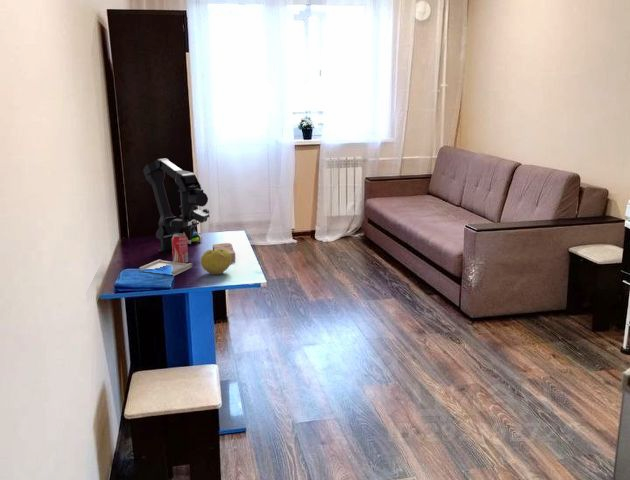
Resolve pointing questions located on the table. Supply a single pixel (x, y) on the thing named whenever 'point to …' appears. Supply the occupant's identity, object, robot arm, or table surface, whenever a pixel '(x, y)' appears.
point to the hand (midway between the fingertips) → (190, 239)
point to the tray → (176, 266)
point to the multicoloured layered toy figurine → (194, 237)
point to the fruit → (216, 261)
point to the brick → (226, 247)
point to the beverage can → (180, 248)
